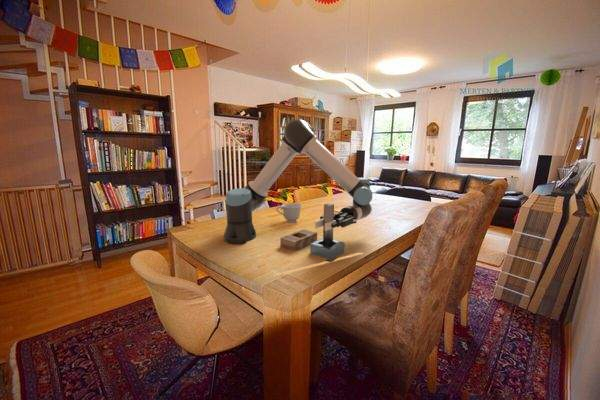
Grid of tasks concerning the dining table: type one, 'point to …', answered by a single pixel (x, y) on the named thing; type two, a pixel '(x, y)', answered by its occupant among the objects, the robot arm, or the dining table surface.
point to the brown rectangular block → (298, 239)
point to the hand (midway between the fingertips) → (320, 226)
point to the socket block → (327, 249)
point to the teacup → (290, 211)
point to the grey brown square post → (327, 218)
